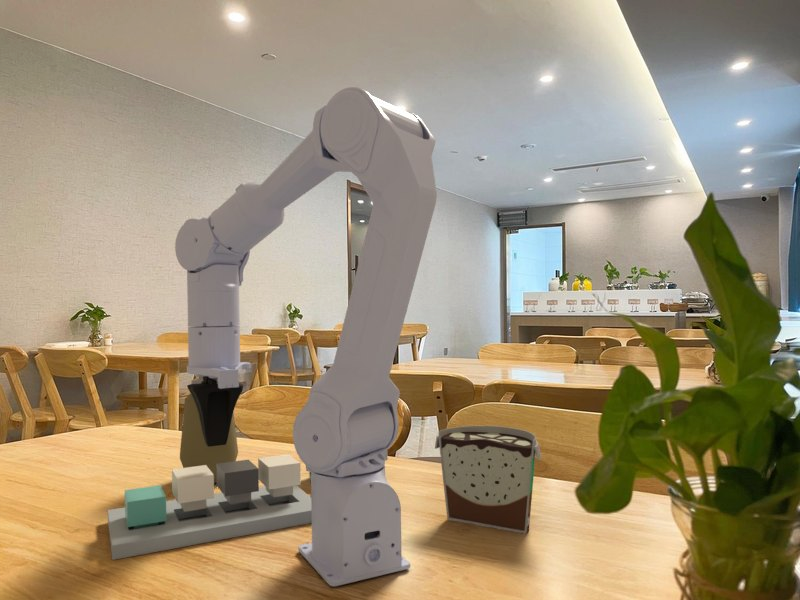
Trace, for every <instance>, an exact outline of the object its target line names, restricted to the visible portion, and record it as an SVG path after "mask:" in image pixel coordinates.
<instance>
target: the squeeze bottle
mask: <svg viewBox="0 0 800 600" xmlns="http://www.w3.org/2000/svg"><path fill="white" fill-rule="evenodd" d="M201 381H203V377H202V376H201V377H198V378H193V379H191V382H190V384H200V383H201ZM182 415H183V417H182V425H181V426H182V427H181V437H180V449H179V450H180V451H179V460H180V462H181V465H182V468H187V467H195V466H202V465H206V466H207V467H208V468H209V469H210V471H211V472H212V473H213V474H214V484H217V466H216V464H218V463H225V462H233V461H237V458H238V456H239V449H238V439H237V429H236V422H235V411H233V415H232V420H231V425H230V430H229V435H228V440H227V443H226V445H219V446H211V447H208V446H207V445H206V443H205V440H204V436H203V432H202V427H201V422H200V418H199V413H198V410H197V407H196V404H195V401H194V399H193V397H192V395H191V394H188V395H187V396H186V397H184V403H183V414H182Z"/></svg>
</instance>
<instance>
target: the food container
mask: <svg viewBox="0 0 800 600" xmlns="http://www.w3.org/2000/svg"><path fill="white" fill-rule="evenodd" d="M437 434H438V435H436V439H435V444H434V449H439V454H440V462H441V471H442V472H441V473H442V481H443V489H444V490H443V491H444V501H445V507H446V508H445V510H446V518H447V520H448V521H449V520H450V521H453V522H460V523H464V524H465V523H466V524H469V525H476V526H482V527H486V528H492V529H498V530H502V531H503V530H504V531H509V532H514V533H519V534H526V535H527V534H528V532H529V531H530V523H531V522H530V521H531V513H532V511H531V510H532V501H533V500H532V499H533V485H534V476H535V463H536V461H537V462H538V461H540V460H541V458H542V453H541V449H540V443H539V441H538V440H537V437H536V435H535V434H534V433H533V432H530V431H528V430H525V429H521V428H516V427H508V426H501V425H500V426H499V425H498V426H497V425H465V426H455V427H449V428H445V429H441V430H438V433H437Z"/></svg>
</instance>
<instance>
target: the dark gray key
mask: <svg viewBox="0 0 800 600" xmlns="http://www.w3.org/2000/svg"><path fill="white" fill-rule="evenodd" d="M216 466H217V483H216V487H217V488H218V489H219V490H220V493H223V494H224V497H225V498H226V500H227V501H228V502H229V504H236V503H242V502H248V501H251V492H257V491H259V487H260V485H259V483H260V480H259V472H258V467H257V466H256V465H255V464H254V462H252V461H251V460H250V459H243V460H236V461H233V462H225V463H218V464H216Z"/></svg>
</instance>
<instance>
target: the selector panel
mask: <svg viewBox="0 0 800 600" xmlns="http://www.w3.org/2000/svg"><path fill="white" fill-rule="evenodd" d="M206 505H207V508H205V509H199V510H193V511H186V512H184V511H183V509H182V507H181V505H180V504H178V503H177V501H176V499H171V500H166V521H162V522H159V525H157V526H151V527H145V528H139V529H134V530H133V526H132V527H128V526H127V521H126V516H125V506H124V507H118V508H112V509H108V510H107V525H108V532H109V535H108V536H109V540H110V551H111V558H112V560H113V561H114V560H119V559H125V558H130V557H131V558H132V557H134V556H140V555H141V556H142V555H146V554H152V553H157V552H161V551H167V550H174V549H179V548H184V547H188V546H194V545H200V544H206V543H210V542H215V541H216V542H217V541H222V540H226V539H232V538H238V537H242V536H248V535H253V534H259V533H264V532H269V531H274V530H281V529H285V528H290V527H296V526H302V525H307V524H312V510H311V496H310V495H309V494H307V493H306V492H305V491H304V490H303V489H302V488H300V486H299V485H296V486H293V494H292V495H285V496H279V497H273V496H272V495H270V494H269V493H268V492H267V491H266V486H265V485H264V486H259V491H257V492H251V501H248V502H242V503H236V504H229V502H228V501H227V500H226V498H225V497H224V494H223V493H222V492H217V493H214V498H212V499H206Z"/></svg>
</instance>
